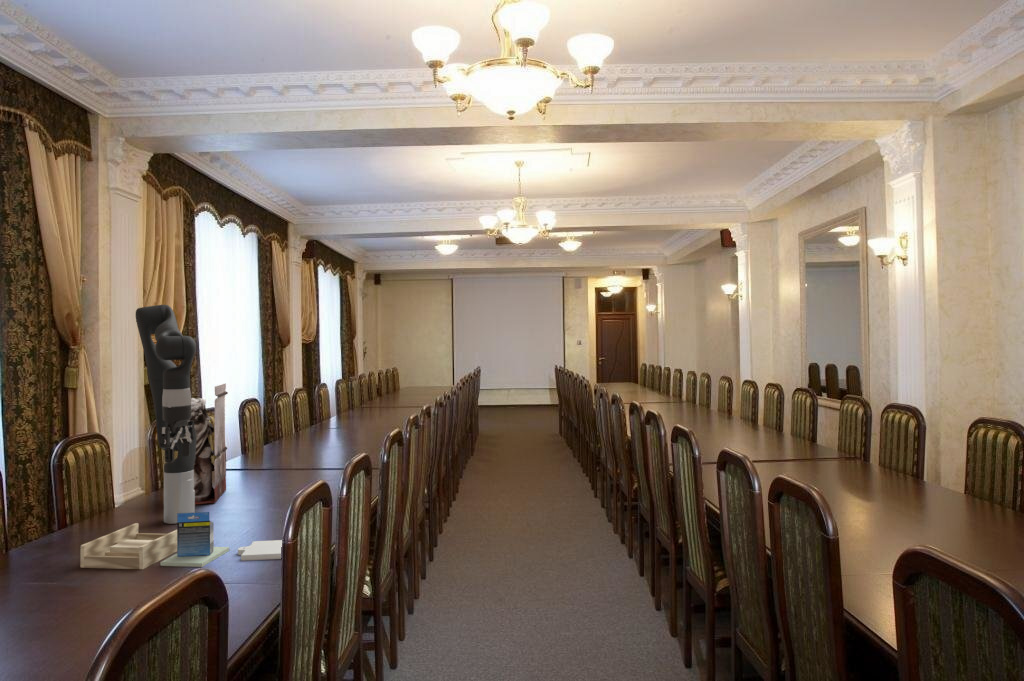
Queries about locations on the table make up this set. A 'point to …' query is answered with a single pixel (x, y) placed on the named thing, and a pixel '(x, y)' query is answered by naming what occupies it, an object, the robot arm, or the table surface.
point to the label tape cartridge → (194, 534)
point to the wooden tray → (147, 556)
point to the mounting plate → (261, 550)
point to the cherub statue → (209, 448)
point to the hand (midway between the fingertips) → (178, 458)
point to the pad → (194, 559)
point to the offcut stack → (127, 548)
